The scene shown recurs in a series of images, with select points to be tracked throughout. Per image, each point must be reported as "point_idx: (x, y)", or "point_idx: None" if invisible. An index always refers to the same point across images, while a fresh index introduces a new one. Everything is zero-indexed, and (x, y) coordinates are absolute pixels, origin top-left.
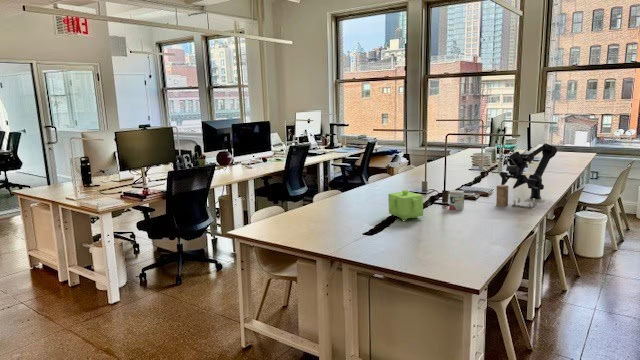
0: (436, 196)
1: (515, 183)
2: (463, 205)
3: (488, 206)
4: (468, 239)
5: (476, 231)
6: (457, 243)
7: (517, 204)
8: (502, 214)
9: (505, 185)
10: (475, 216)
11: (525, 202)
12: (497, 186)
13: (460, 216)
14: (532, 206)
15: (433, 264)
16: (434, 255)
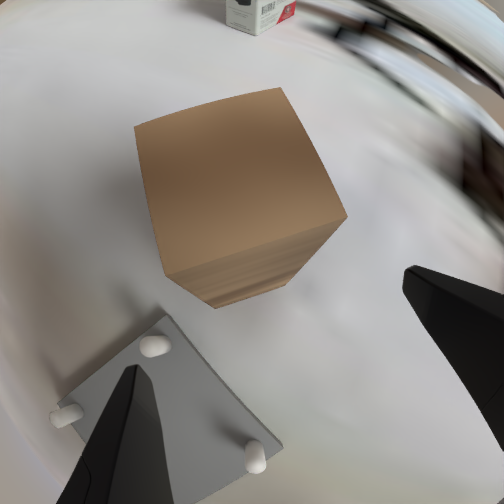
0: (500, 94)
1: (104, 450)
2: (243, 16)
3: None
4: (7, 29)
5: (15, 39)
6: (12, 18)
7: (154, 368)
8: (46, 140)
9: (229, 235)
10: (103, 41)
11: (199, 471)
12: (261, 97)
13: (140, 9)
14: (74, 426)
15: (3, 7)
16: (15, 3)
